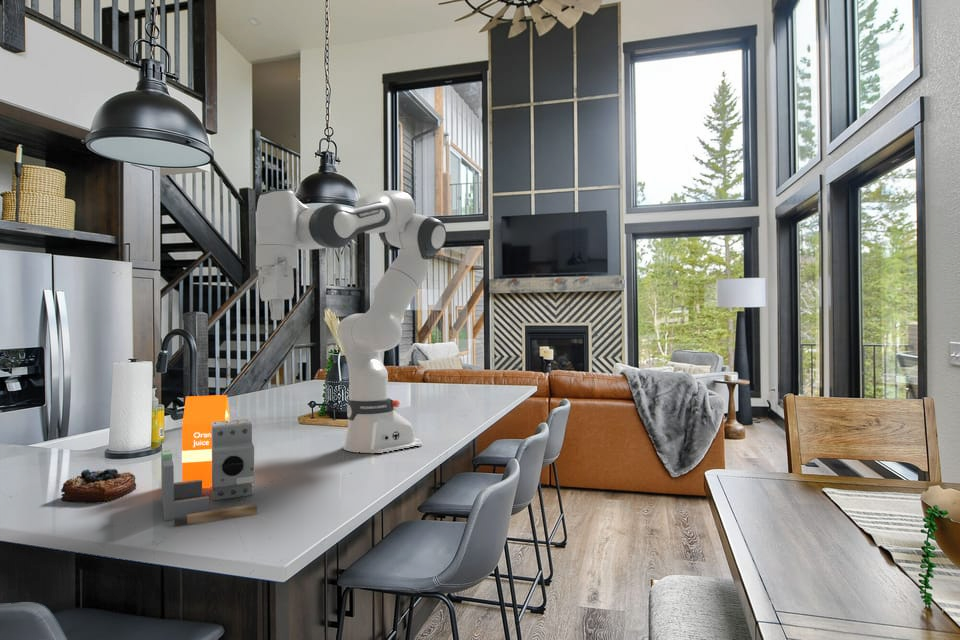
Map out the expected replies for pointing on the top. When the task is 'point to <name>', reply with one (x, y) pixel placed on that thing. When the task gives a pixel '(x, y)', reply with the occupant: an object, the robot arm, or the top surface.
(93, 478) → the pastry
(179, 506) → the bay
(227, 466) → the circuit breaker
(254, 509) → the stylus
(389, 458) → the top surface
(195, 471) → the orange juice
